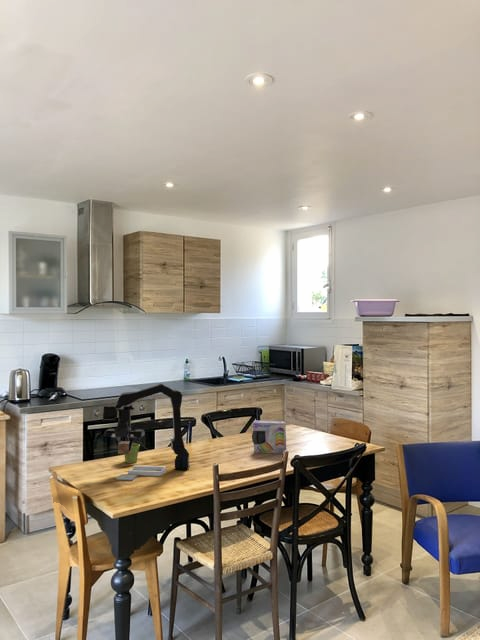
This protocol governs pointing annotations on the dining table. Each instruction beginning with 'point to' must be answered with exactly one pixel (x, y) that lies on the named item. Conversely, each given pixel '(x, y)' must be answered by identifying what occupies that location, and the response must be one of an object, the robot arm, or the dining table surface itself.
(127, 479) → the slate coaster
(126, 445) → the walnut block
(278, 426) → the cake pan box
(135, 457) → the plant pot
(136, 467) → the channel
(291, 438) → the dining table surface
